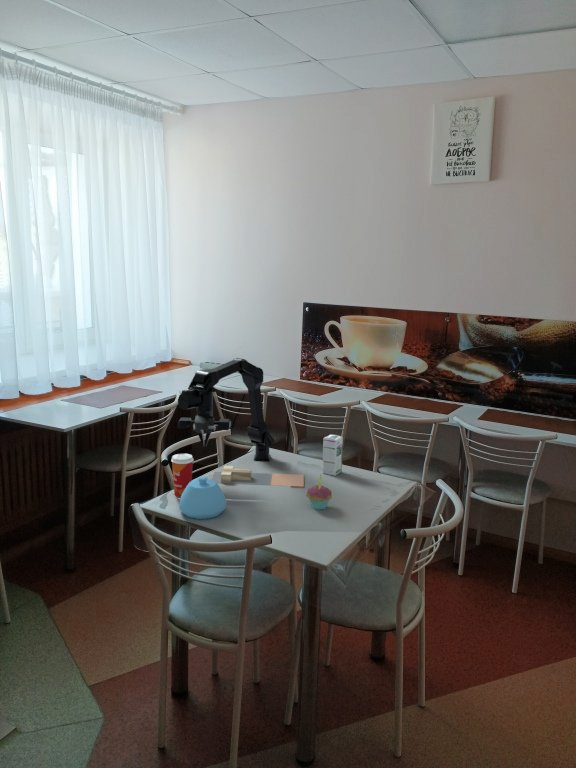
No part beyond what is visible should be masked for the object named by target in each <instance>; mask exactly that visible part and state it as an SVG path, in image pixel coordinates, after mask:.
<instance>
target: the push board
mask: <svg viewBox="0 0 576 768" xmlns="http://www.w3.org/2000/svg"><path fill="white" fill-rule="evenodd" d="M213 472H214V473H213V475H212V477H211V480H214V481H215V482H216V483H217V484H224V485H251V486H252V485H255V486H278V487H279V486H280V487H281V486H283V487H285V486H286V487H287V486H288V487H290V488H304V487H305V485H304V484H305V483H304V482H305V479H304V478H305V475H304V474H296V473H295V474H292V473H291V474H289V473H288V474H287V473H266V472H264V473H262V472H261V473H259V472H251V480H231V483H224V482H221V473H222V471H213Z"/></svg>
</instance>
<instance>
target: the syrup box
mask: <svg viewBox="0 0 576 768" xmlns="http://www.w3.org/2000/svg"><path fill="white" fill-rule="evenodd" d="M322 440H323V442H322V443H323V445H322V474H324V475H325V474H326V475H330V476H337V475H338V474H340V473H341V472H342V470H343V446H344V445H343V441H344V438H343V436H342V435H338V434H329V435H327V436H324V437H323V439H322Z"/></svg>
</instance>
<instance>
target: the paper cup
mask: <svg viewBox="0 0 576 768" xmlns="http://www.w3.org/2000/svg"><path fill="white" fill-rule="evenodd" d="M170 461H171V462H172V463H171V464H172V465H171V466H172V481H173V493H174V495H175V496H176V497H177V498H178V499H181V495H182V493H183V491H184V490H185V488H186V487H187V485H188V484H189V483H190V482H191V481H193V465H194V464H193V463H194V461H195V460H194V457H193V455H192V454H189V453H177V454H174V455H172V456H171V460H170Z"/></svg>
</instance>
